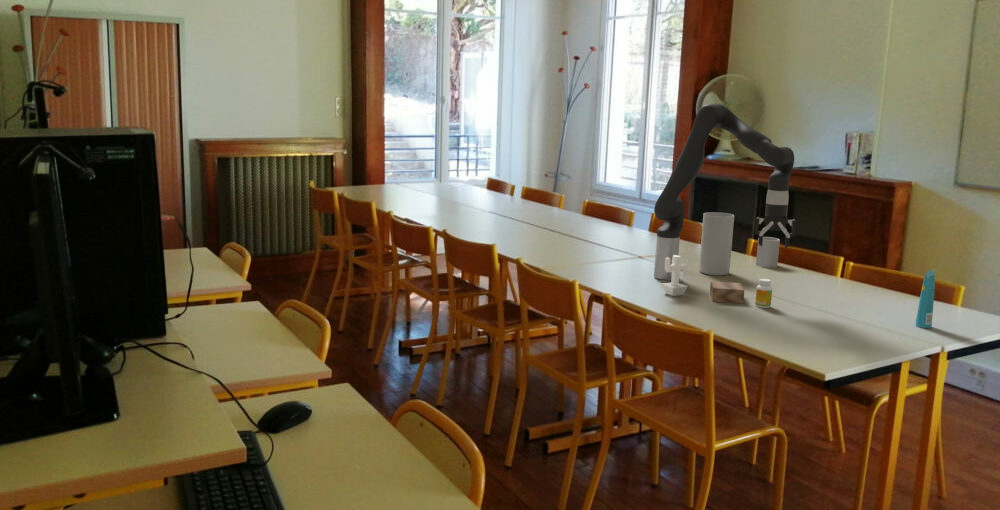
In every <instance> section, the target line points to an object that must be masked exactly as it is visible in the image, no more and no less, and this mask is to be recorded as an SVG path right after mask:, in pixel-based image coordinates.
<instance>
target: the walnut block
mask: <svg viewBox="0 0 1000 510" xmlns="http://www.w3.org/2000/svg"><path fill="white" fill-rule="evenodd" d="M709 285H710V286H709V295H710V299H711V301H712V302H715V303H733V304H744V301H745V300H744V299H745V288H744V287H743V285H742V283H740V282H727V281H725V282H724V281H710V284H709Z"/></svg>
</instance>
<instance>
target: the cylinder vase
mask: <svg viewBox="0 0 1000 510" xmlns="http://www.w3.org/2000/svg"><path fill="white" fill-rule="evenodd" d="M702 217H703V218H702V228H701V229H702V230H701V243H700V256H699V265H698V267H699V268H698V269H699V272H700V273H701V274H704V275H709V276H718V277H719V276H726V275H729V274H730V270H731V259H732V248H733V237H734V236H733V234H734V225H735V224H734V222H735V215H734V214H733V213H727V212H718V211H717V212H716V211H715V212H714V211H711V212H704V213H703V216H702Z"/></svg>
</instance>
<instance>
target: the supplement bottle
mask: <svg viewBox="0 0 1000 510" xmlns="http://www.w3.org/2000/svg"><path fill="white" fill-rule="evenodd" d="M771 284H772V281H771V279H768V278H759V280H758V285H756V289H755V290H756V291H755V303H754V305H755V307H757V308H761V309H768V308H771V306H772V295H773V287H772V286H771Z"/></svg>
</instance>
